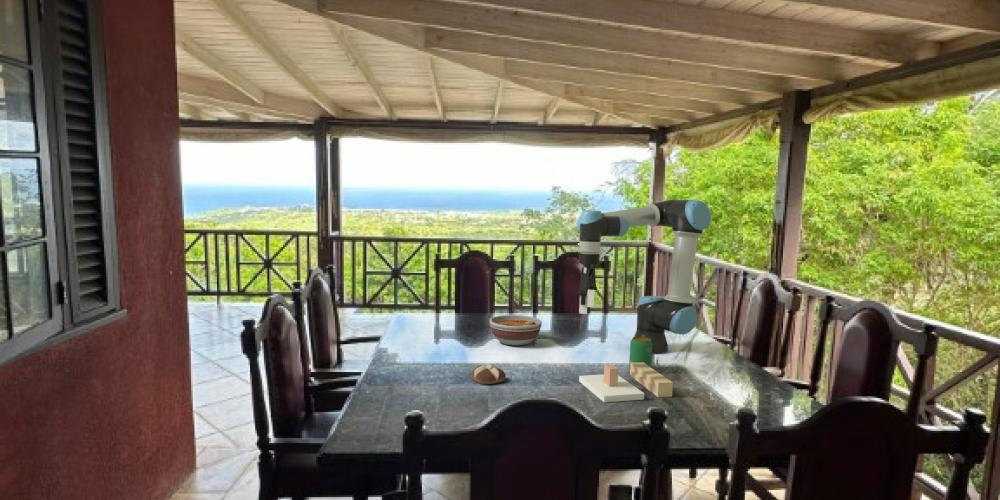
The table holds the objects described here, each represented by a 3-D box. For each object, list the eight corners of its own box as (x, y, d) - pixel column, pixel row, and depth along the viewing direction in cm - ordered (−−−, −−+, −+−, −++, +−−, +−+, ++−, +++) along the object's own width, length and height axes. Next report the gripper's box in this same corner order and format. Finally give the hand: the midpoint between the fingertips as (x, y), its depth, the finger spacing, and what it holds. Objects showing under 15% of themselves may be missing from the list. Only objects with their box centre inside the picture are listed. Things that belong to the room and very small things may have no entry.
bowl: (550, 341, 244) (550, 319, 243) (524, 353, 225) (525, 329, 224) (506, 333, 256) (507, 312, 255) (478, 343, 237) (479, 321, 236)
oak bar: (629, 376, 200) (630, 362, 200) (642, 375, 201) (643, 362, 200) (657, 398, 178) (658, 383, 178) (671, 397, 179) (672, 382, 179)
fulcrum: (615, 379, 195) (616, 357, 194) (644, 399, 176) (645, 375, 175) (579, 381, 191) (580, 359, 191) (604, 402, 172) (605, 377, 171)
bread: (467, 377, 193) (467, 363, 193) (497, 373, 198) (497, 360, 197) (478, 387, 183) (479, 373, 183) (509, 383, 188) (510, 369, 187)
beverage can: (636, 365, 212) (637, 335, 211) (654, 370, 206) (656, 339, 205) (624, 369, 206) (626, 338, 205) (643, 375, 201) (645, 343, 200)
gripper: (585, 249, 212) (583, 303, 214) (571, 255, 189) (569, 315, 191) (605, 250, 210) (602, 305, 212) (593, 256, 186) (590, 317, 188)
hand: (586, 310), depth 201 cm, fingers open, 13 cm apart
